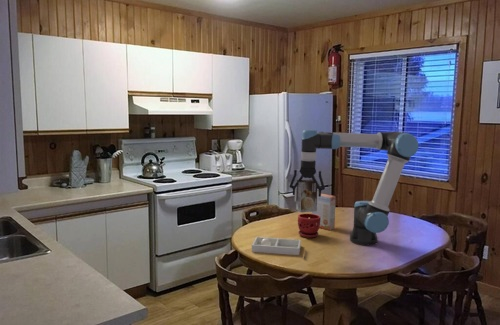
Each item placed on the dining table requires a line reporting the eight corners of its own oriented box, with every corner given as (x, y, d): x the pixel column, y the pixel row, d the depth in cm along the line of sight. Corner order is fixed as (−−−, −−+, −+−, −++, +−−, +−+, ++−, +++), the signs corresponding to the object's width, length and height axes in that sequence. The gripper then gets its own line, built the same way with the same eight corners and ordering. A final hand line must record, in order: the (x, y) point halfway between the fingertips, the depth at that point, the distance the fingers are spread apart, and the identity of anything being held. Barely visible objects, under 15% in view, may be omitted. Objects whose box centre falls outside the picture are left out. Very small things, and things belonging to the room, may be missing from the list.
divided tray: (300, 247, 226) (300, 239, 225) (298, 256, 213) (299, 248, 212) (256, 244, 230) (256, 236, 230) (251, 253, 217) (251, 245, 216)
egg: (271, 246, 224) (271, 237, 224) (269, 250, 219) (269, 240, 219) (261, 245, 225) (261, 236, 225) (260, 249, 220) (260, 239, 219)
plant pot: (319, 239, 239) (320, 219, 237) (296, 238, 242) (296, 218, 240) (320, 232, 252) (321, 213, 250) (298, 231, 254) (298, 212, 253)
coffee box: (312, 208, 223) (313, 179, 220) (316, 211, 216) (318, 181, 214) (295, 209, 220) (296, 179, 218) (300, 212, 214) (301, 181, 212)
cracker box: (334, 228, 260) (336, 195, 257) (329, 230, 256) (330, 197, 253) (316, 223, 270) (317, 192, 267) (311, 225, 266) (311, 193, 263)
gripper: (331, 160, 216) (329, 201, 219) (286, 157, 220) (284, 198, 223) (331, 162, 209) (329, 205, 212) (285, 159, 213) (283, 202, 216)
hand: (306, 201), depth 218 cm, fingers closed on coffee box, 11 cm apart
